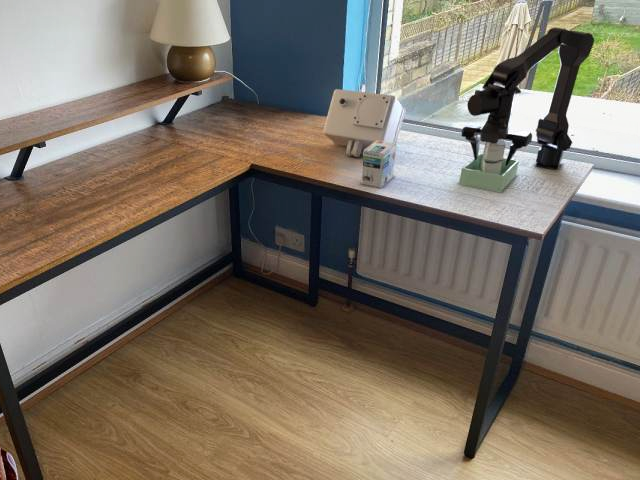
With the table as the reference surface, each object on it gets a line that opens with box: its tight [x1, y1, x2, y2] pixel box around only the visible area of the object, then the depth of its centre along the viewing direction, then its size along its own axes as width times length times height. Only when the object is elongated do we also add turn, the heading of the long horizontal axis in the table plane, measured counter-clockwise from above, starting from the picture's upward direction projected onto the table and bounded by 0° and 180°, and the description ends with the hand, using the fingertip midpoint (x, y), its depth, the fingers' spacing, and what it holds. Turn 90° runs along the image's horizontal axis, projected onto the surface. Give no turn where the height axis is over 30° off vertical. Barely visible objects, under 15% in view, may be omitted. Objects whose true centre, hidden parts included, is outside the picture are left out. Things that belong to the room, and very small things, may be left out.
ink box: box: [480, 139, 506, 175], centre depth 178 cm, size 9×5×12 cm, turn 165°
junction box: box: [322, 88, 406, 158], centre depth 202 cm, size 24×15×22 cm
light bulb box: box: [361, 140, 397, 189], centre depth 181 cm, size 11×7×11 cm, turn 148°
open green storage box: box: [458, 152, 520, 193], centre depth 180 cm, size 12×15×5 cm
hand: (491, 162), depth 179 cm, fingers open, 9 cm apart
